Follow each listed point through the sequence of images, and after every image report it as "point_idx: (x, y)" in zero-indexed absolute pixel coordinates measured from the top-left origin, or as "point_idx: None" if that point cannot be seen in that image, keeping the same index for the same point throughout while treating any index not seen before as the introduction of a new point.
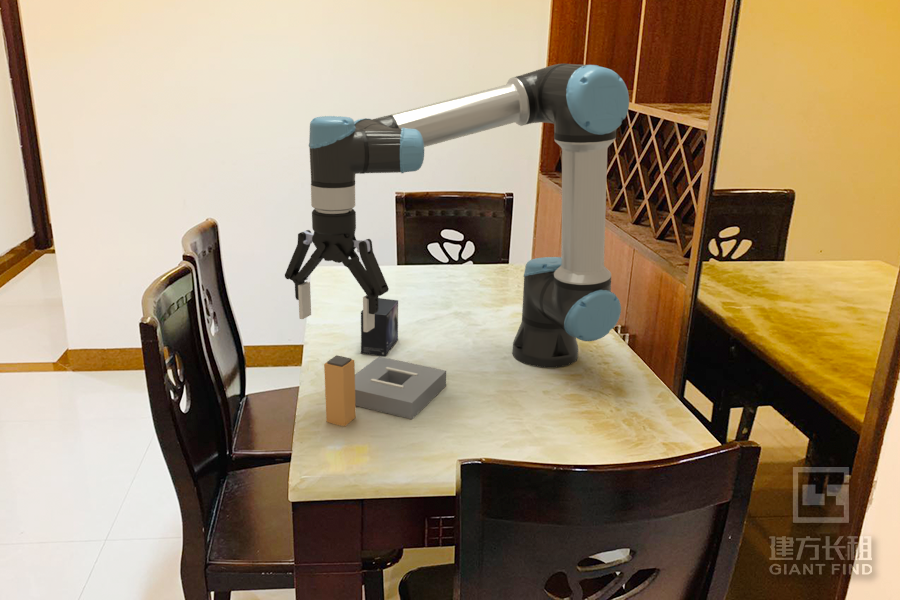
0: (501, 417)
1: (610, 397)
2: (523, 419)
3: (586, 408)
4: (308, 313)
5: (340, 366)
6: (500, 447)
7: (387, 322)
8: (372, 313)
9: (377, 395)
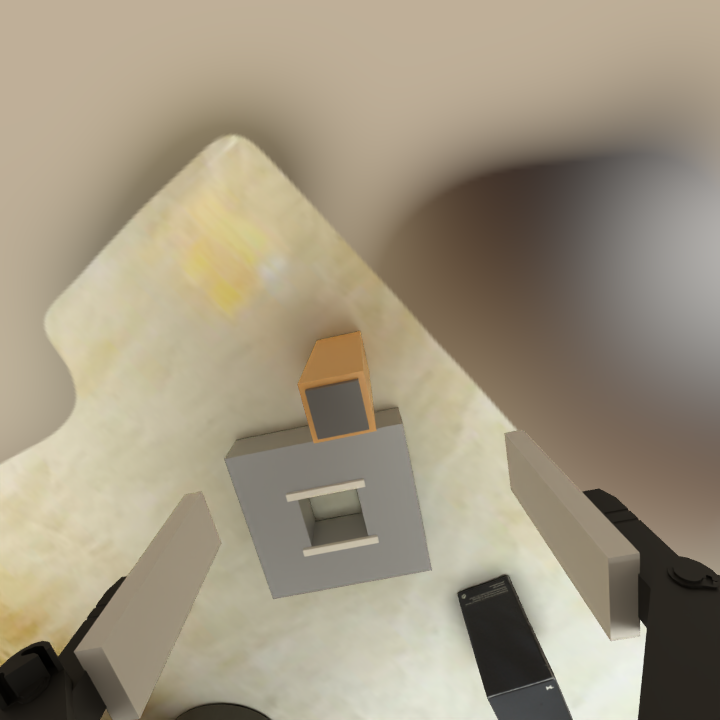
0: (120, 538)
1: None
2: (88, 554)
3: (40, 639)
4: (514, 479)
5: (311, 387)
6: (45, 458)
7: (481, 677)
8: (124, 579)
9: (306, 441)
